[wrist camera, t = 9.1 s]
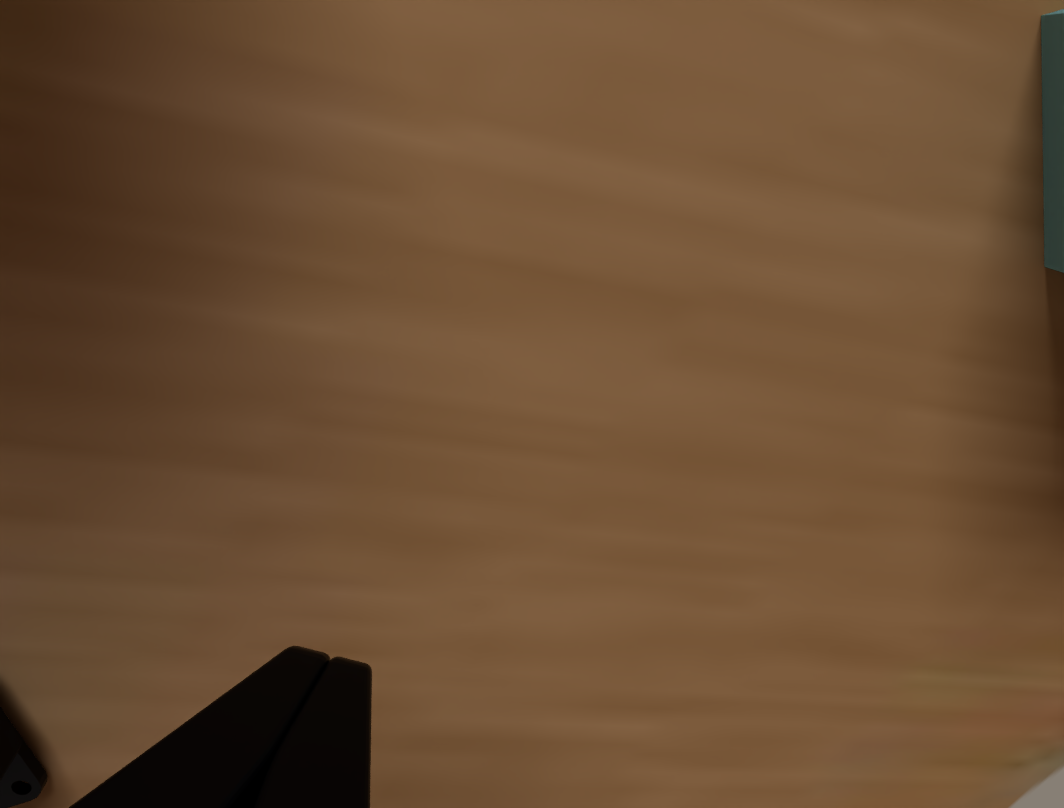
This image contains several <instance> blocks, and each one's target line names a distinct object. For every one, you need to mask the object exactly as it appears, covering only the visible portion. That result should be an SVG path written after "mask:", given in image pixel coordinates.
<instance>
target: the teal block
mask: <svg viewBox="0 0 1064 808" xmlns="http://www.w3.org/2000/svg"><path fill="white" fill-rule="evenodd" d="M1041 46H1042V121H1043V196H1044V267H1046V268H1050V269H1053V270H1056V271H1060V272H1063V273H1064V9H1062V10H1059V11H1056V12H1052V13H1049V14H1045V15H1042V16H1041Z"/></svg>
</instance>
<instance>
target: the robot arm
mask: <svg viewBox="0 0 1064 808" xmlns="http://www.w3.org/2000/svg"><path fill="white" fill-rule="evenodd" d="M371 695H372V670H371V667H370V666H369V665H368V664H366V663H362V662H359V661H355V660H351V659H347V658H343V657H334V658H332V659H331V660H330V657H329V656H328V655H327V654H326V653H323V652H319V651H315V650H311V649H308V648H304V647H300V646H292V647H289V648H287V649H285V650H284V651H282V652H281V653H279V654H278V655H277V656H275V657H274V658H273V659H271V660H270V661H269V662H267V663H266V664H264V665H263V666H262V667H260V668H259V669H258V670H256V671H255V672H253V673H252V674H251V675H249V676H248V677H247V678H245V679H244V680H243V681H241V682H240V683H238V684H237V685H236V686H234V687H233V688H232V689H230V690H229V691H228V692H226V693H225V694H223V695H222V696H221V697H219V698H218V699H217V700H215V701H214V702H212V703H211V704H210V705H208V706H207V707H206V708H204V709H203V710H202V711H200V712H199V713H197V714H196V715H195V716H193V717H192V718H191V719H189V720H188V721H187V722H185V723H184V724H182V725H181V726H180V727H178V728H177V729H176V730H174V731H173V732H171V733H170V734H169V735H167V736H166V737H165V738H163V739H162V740H161V741H159V742H158V743H156V744H155V745H154V746H152V747H151V748H150V749H148V750H147V751H145V752H144V753H143V754H141V755H140V756H139V757H137V758H136V759H135V760H133V761H132V762H130V763H129V764H128V765H126V766H125V767H124V768H122V769H121V770H120V771H118V772H117V773H115V774H114V775H113V776H111V777H110V778H109V779H107V780H106V781H104V782H103V783H102V784H100V785H99V786H98V787H96V788H95V789H94V790H92V791H91V792H89V793H88V794H87V795H85V796H84V797H83V798H81V799H80V800H79V801H77V802H76V803H74V804H73V805H72V806H70V807H69V808H370V765H371ZM22 781H25V782H28V783H25V782H22ZM46 782H47V774H46V771H45V770H44V768H43V767H42V765H41V764H40V762H39V761H38V760H37V758H36V757H35V755H34V754H33V753H32V751H31V750H30V748H29V747H28V745H27V744H26V743H25V741H24V740H23V738H22V737H21V736H20V734H19V733H18V731H17V730H16V728H15V727H14V726H13V724H12V723H11V721H10V720H9V719H8V717H7V716H6V714H5V713H4V711H3V710H2V709H1V707H0V808H8V807H11V806H15V805H18V804H21V803H24V802H28V801H31V800H33V799H35V798H37V796H38V795H39V794H40V793H41V791H42V789H43V787H44V785H45V784H46Z"/></svg>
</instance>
